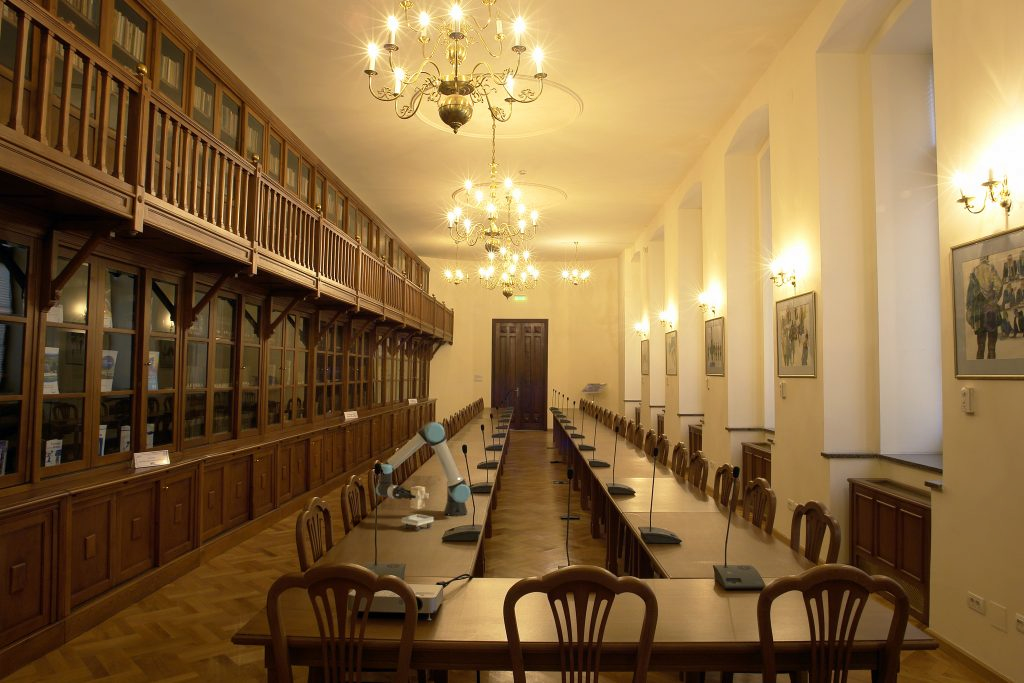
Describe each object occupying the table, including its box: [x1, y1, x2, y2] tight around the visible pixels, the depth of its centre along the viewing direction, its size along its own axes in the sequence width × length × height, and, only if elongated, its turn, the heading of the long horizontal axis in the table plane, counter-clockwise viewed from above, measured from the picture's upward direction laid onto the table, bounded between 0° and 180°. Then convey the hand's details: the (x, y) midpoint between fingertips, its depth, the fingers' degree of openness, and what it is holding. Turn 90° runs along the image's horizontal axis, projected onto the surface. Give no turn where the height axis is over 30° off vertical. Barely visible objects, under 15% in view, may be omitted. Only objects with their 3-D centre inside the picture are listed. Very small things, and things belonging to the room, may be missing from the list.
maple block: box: [409, 485, 426, 510], centre depth 395 cm, size 6×6×12 cm
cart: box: [401, 513, 434, 532], centre depth 395 cm, size 13×13×6 cm
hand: (424, 496), depth 392 cm, fingers closed on maple block, 6 cm apart
